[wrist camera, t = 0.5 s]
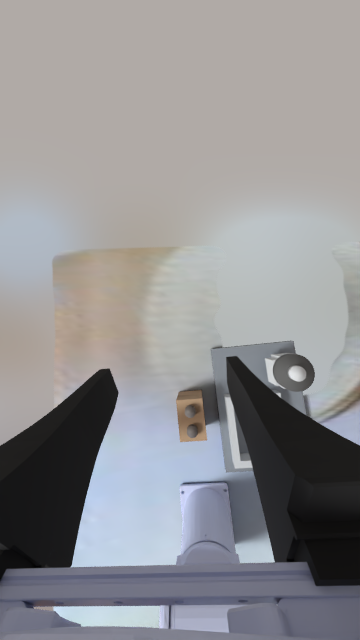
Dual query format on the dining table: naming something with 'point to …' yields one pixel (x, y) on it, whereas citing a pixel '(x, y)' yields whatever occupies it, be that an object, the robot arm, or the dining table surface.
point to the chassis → (229, 424)
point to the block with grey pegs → (191, 416)
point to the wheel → (290, 371)
